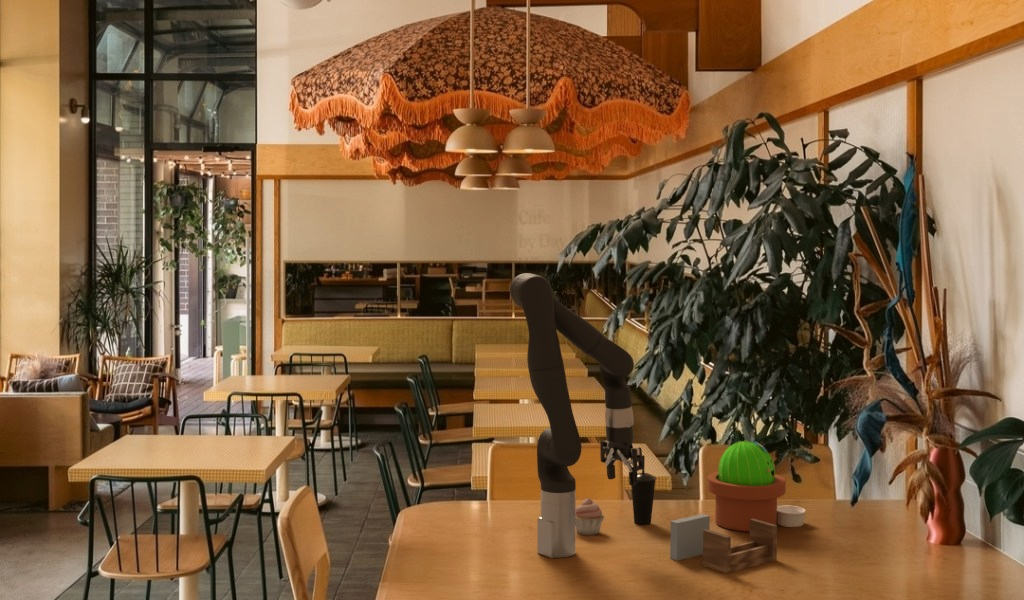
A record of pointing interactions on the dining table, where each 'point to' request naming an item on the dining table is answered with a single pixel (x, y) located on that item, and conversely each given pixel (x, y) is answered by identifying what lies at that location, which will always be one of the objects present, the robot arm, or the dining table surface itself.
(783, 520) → the ramekin
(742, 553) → the wooden card holder
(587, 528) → the cupcake
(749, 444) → the potted cactus
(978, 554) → the dining table surface
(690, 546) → the gray rectangular slab
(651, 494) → the drinking cup
